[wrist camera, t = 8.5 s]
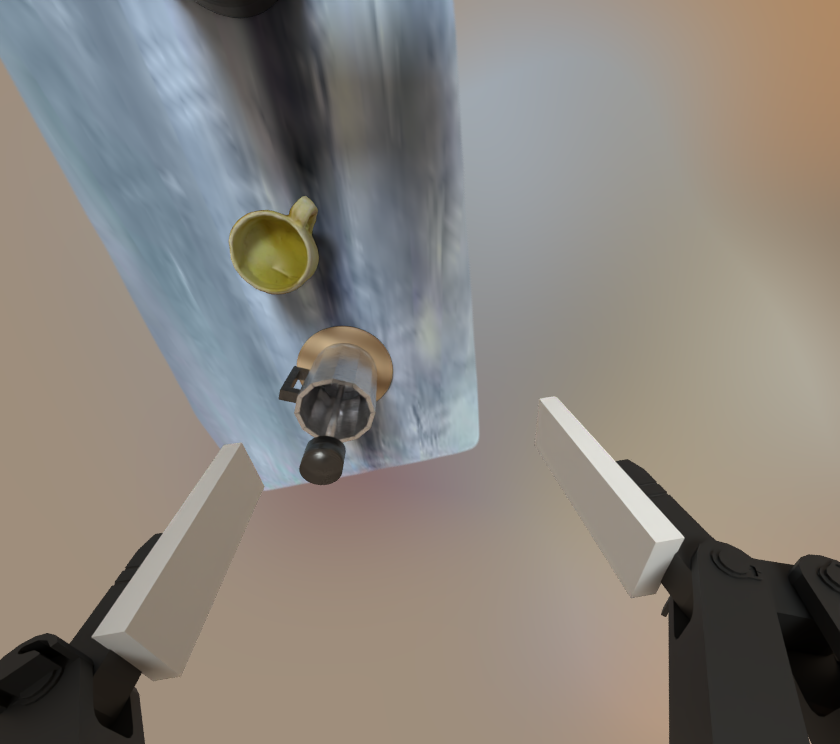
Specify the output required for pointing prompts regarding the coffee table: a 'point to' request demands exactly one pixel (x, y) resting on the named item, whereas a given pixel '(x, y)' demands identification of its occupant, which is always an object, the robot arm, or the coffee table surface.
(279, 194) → the coffee table surface
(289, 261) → the mug
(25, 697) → the robot arm
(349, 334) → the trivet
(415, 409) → the coffee table surface
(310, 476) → the plunger
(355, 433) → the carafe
